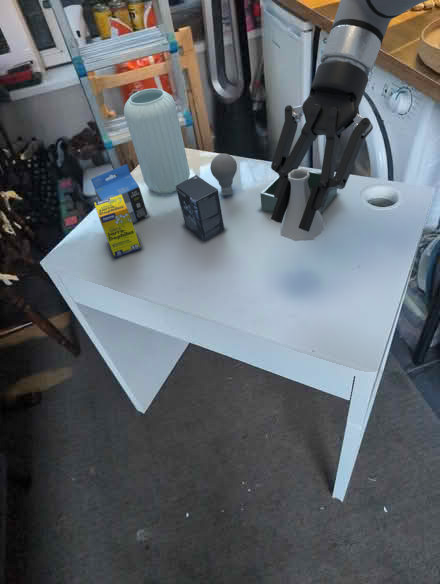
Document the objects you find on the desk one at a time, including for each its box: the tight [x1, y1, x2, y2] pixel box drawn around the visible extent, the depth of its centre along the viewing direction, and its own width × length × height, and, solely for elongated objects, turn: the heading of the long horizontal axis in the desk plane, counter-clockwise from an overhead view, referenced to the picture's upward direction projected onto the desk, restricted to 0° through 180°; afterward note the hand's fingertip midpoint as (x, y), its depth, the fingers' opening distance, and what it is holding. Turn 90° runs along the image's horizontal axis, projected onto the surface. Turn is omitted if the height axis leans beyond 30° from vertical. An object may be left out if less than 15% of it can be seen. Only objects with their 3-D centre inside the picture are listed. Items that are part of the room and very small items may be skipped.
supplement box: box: [93, 194, 142, 259], centre depth 90 cm, size 6×6×11 cm
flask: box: [280, 168, 325, 242], centre depth 67 cm, size 7×7×10 cm
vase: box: [123, 87, 191, 194], centre depth 101 cm, size 12×12×22 cm
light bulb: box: [210, 153, 238, 196], centre depth 100 cm, size 6×6×10 cm
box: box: [176, 174, 225, 242], centre depth 91 cm, size 8×6×11 cm
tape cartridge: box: [90, 163, 149, 224], centre depth 96 cm, size 9×4×12 cm, turn 123°
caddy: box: [259, 167, 338, 215], centre depth 95 cm, size 12×12×4 cm
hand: (289, 225), depth 66 cm, fingers closed on flask, 4 cm apart
